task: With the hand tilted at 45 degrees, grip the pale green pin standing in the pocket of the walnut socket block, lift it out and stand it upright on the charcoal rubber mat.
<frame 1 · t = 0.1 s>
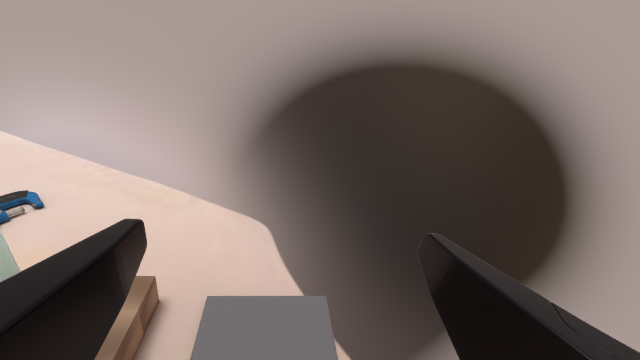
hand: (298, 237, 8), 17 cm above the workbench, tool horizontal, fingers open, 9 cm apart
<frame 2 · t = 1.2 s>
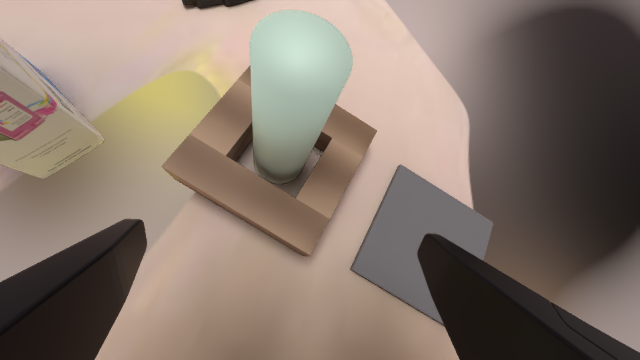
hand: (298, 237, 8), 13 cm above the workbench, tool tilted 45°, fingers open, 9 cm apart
mat: (426, 244, 24), on the workbench
ink box: (41, 123, 20), on the workbench
socket block: (279, 159, 23), on the workbench
pin: (279, 160, 23), resting in socket block
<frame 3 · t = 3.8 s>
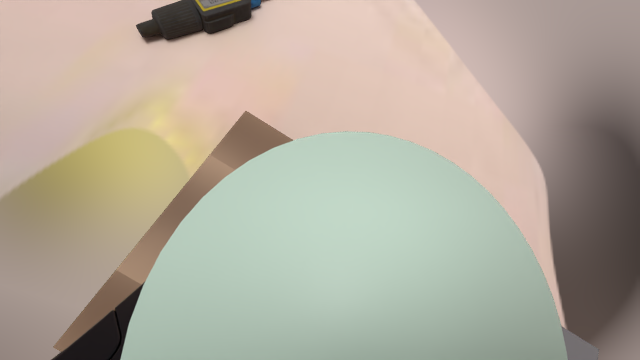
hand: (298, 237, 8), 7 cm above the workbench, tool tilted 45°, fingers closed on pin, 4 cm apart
socket block: (278, 272, 15), on the workbench
pin: (278, 272, 15), resting in socket block, touching gripper
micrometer: (219, 7, 20), on the workbench
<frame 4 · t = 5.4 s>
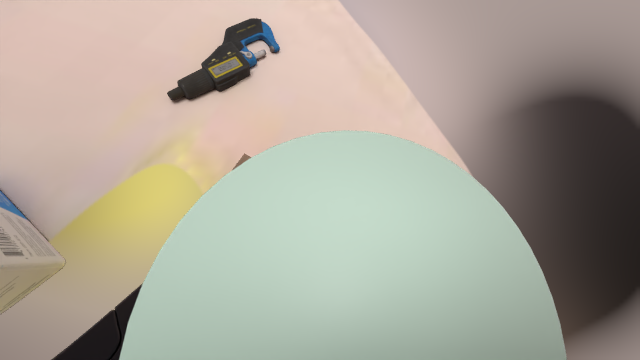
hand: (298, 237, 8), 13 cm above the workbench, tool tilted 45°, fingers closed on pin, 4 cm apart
pin: (278, 271, 15), point 6 cm above the workbench, touching gripper
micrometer: (224, 67, 25), on the workbench
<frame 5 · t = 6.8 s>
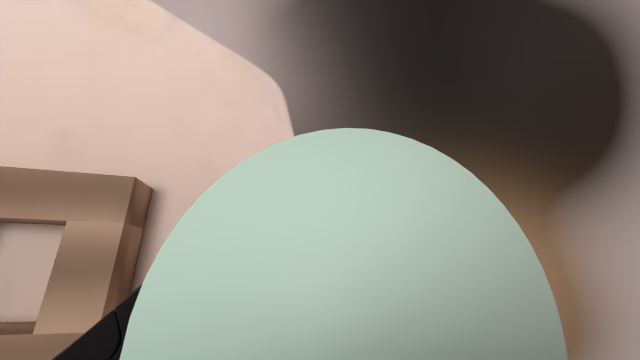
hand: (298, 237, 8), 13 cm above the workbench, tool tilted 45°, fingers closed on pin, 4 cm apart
socket block: (29, 270, 17), on the workbench
pin: (278, 271, 15), point 6 cm above the workbench, touching gripper
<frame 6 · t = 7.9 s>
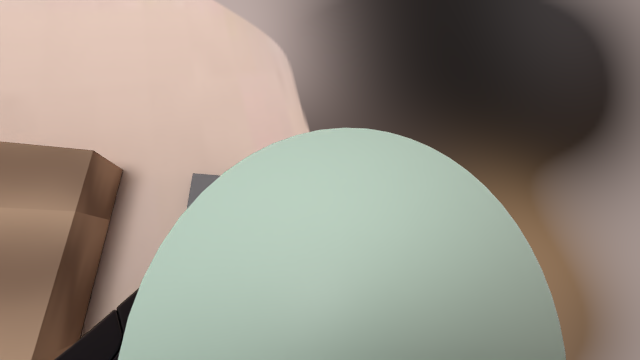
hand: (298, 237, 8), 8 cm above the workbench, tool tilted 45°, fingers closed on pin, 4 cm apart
mat: (276, 269, 16), on the workbench
pin: (278, 271, 15), point 1 cm above the workbench, touching gripper
when the fingers open (8 cm above the workbench, at t = 8.1 s): pin stays where it is, resting on mat.
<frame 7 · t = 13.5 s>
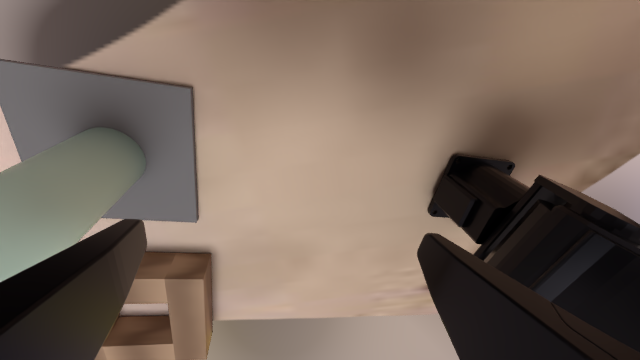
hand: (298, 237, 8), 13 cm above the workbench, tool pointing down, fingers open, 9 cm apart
mat: (114, 153, 19), on the workbench
socket block: (148, 296, 26), on the workbench
pin: (111, 157, 19), resting on mat
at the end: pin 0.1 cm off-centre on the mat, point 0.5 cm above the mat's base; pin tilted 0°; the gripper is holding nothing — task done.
